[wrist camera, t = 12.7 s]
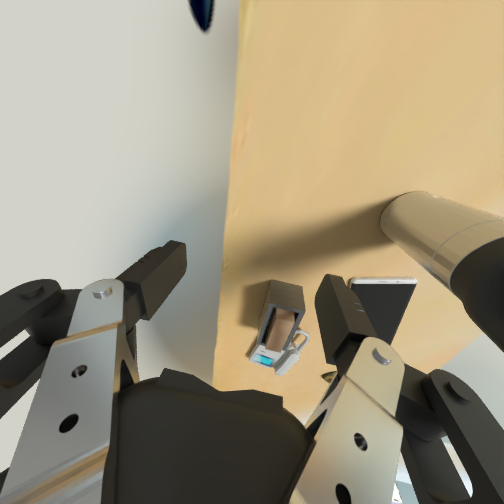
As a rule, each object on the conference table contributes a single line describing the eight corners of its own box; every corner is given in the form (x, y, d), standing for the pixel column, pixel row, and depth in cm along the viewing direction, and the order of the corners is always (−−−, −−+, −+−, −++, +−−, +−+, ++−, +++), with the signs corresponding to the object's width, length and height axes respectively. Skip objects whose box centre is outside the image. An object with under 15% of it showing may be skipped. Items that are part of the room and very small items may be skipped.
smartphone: (337, 344, 56) (338, 350, 54) (350, 275, 43) (352, 280, 41) (385, 347, 53) (388, 353, 52) (414, 275, 40) (419, 280, 39)
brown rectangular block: (293, 305, 43) (294, 322, 38) (280, 334, 49) (280, 353, 45) (277, 301, 43) (276, 318, 38) (266, 331, 49) (264, 349, 45)
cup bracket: (302, 286, 46) (305, 311, 39) (285, 325, 54) (285, 351, 47) (271, 279, 46) (269, 302, 39) (259, 319, 54) (256, 344, 48)
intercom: (319, 341, 49) (282, 379, 62) (317, 327, 53) (282, 366, 66) (275, 325, 49) (246, 366, 62) (275, 312, 52) (248, 354, 65)
